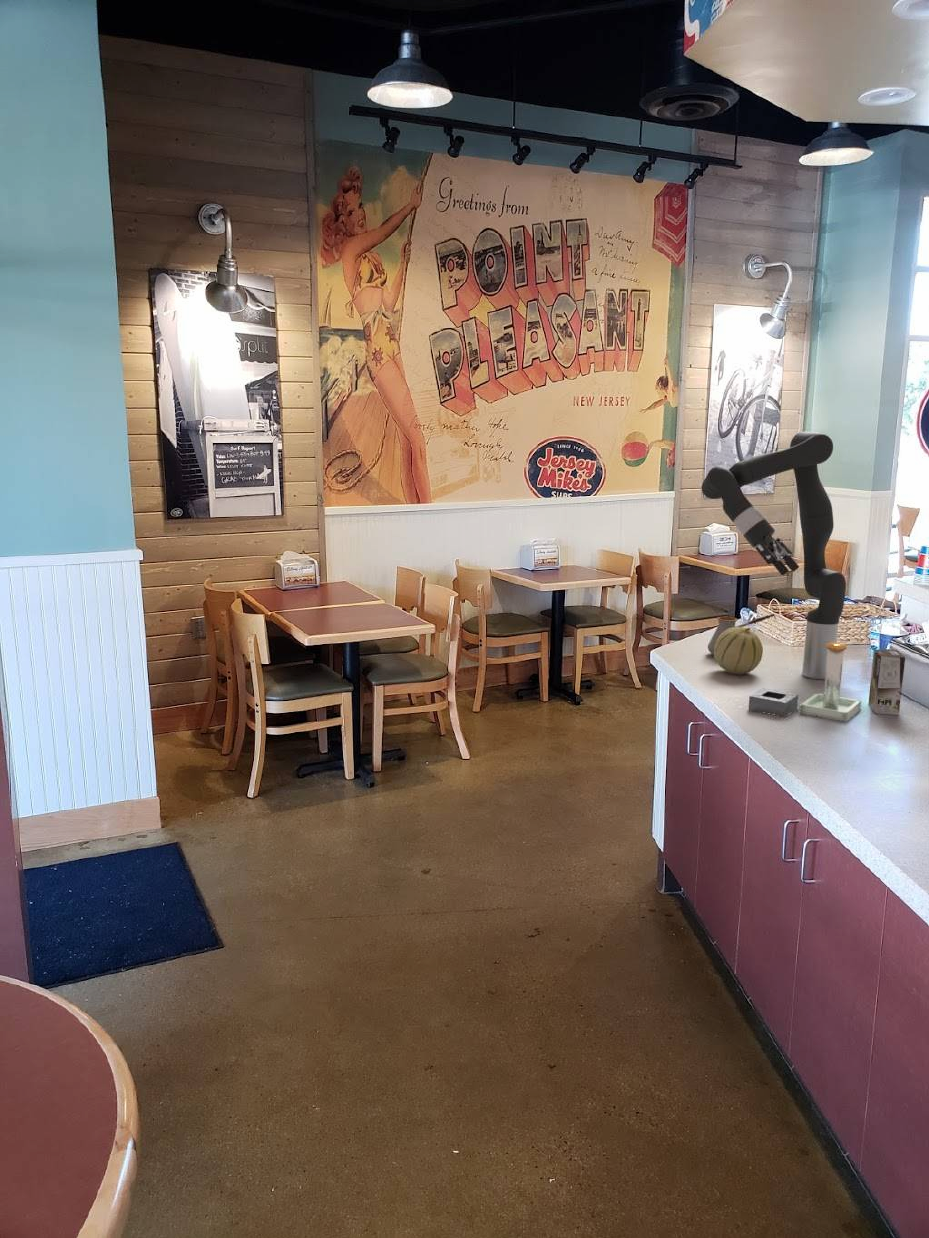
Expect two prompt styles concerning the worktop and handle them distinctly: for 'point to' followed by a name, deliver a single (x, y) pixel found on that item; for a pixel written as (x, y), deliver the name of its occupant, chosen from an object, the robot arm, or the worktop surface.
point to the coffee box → (886, 681)
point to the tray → (842, 714)
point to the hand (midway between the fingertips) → (791, 571)
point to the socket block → (773, 702)
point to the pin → (833, 675)
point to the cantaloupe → (738, 650)
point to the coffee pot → (729, 623)
